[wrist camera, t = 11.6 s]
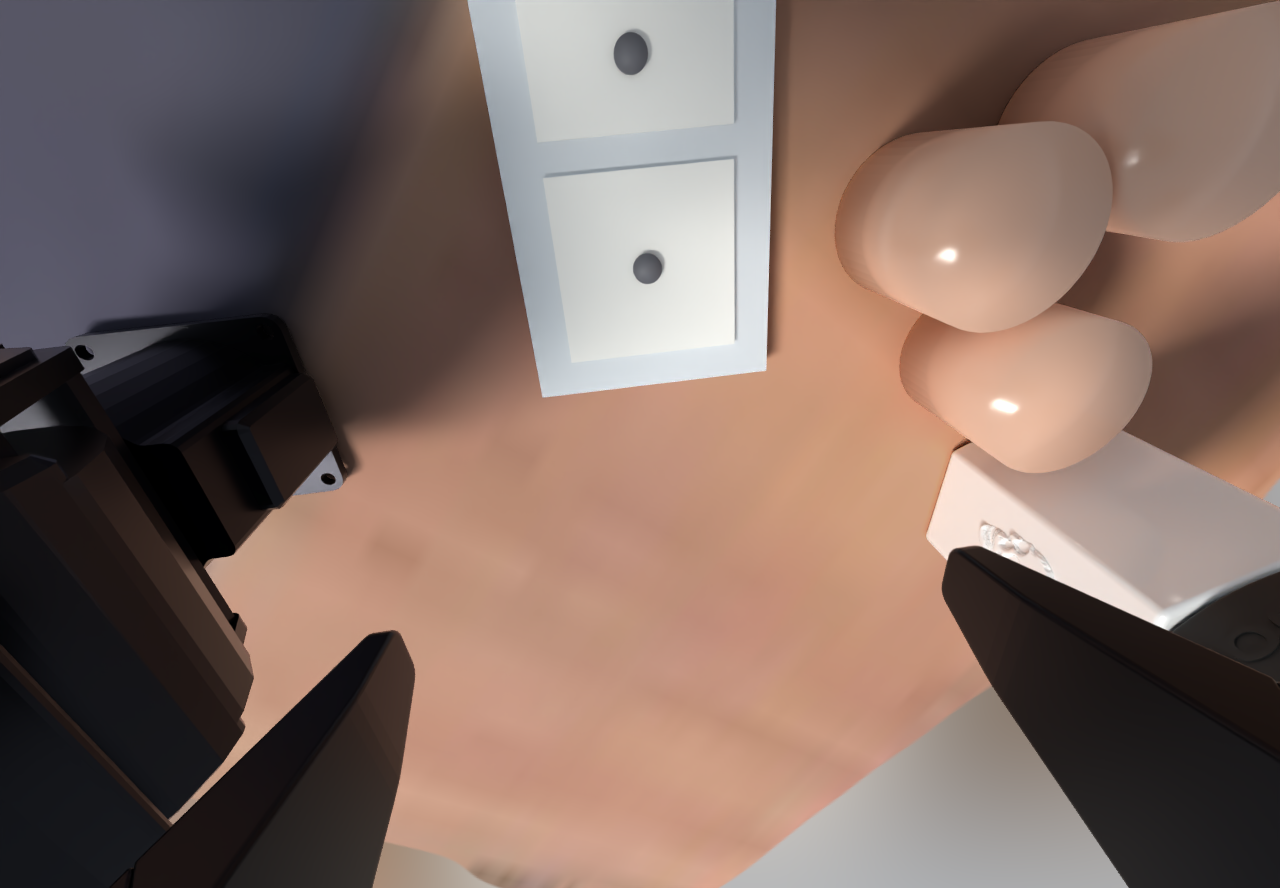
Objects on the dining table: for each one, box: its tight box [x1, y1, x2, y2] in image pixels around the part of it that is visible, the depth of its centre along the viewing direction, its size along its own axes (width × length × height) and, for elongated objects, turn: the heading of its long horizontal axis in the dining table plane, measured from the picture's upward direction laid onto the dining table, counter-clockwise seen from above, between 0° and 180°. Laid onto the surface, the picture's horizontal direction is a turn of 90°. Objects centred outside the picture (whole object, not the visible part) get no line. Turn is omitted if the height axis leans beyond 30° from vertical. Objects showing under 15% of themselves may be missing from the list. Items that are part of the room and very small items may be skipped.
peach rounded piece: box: [899, 303, 1152, 473], centre depth 18 cm, size 5×5×5 cm
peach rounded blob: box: [998, 1, 1280, 242], centre depth 15 cm, size 5×5×5 cm
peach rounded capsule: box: [835, 121, 1113, 333], centre depth 16 cm, size 5×5×5 cm
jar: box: [926, 430, 1280, 682], centre depth 19 cm, size 9×8×12 cm
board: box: [467, 0, 776, 397], centre depth 14 cm, size 8×21×1 cm, turn 5°
